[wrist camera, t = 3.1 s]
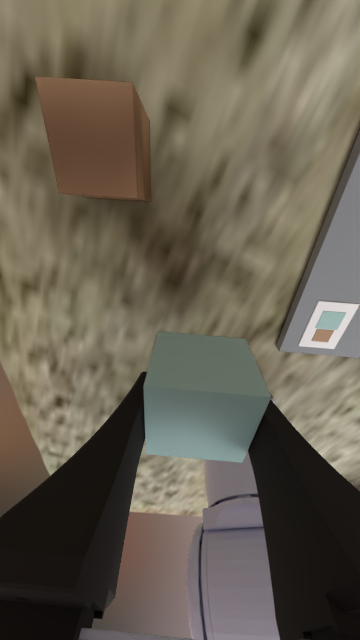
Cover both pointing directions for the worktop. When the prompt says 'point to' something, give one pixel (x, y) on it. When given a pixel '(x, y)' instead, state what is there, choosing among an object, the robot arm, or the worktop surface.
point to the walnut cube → (97, 138)
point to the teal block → (202, 397)
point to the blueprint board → (331, 279)
